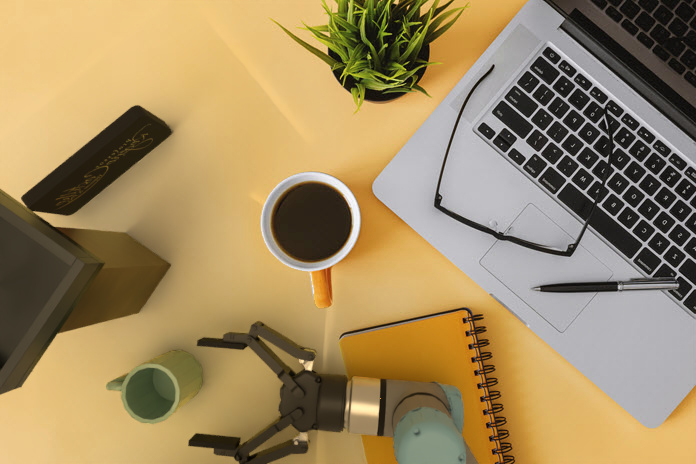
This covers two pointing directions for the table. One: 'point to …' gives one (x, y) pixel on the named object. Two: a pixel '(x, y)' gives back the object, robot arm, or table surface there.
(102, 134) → the nameplate
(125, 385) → the mug
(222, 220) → the table surface
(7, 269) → the tray
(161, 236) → the table surface
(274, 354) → the robot arm
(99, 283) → the stand
